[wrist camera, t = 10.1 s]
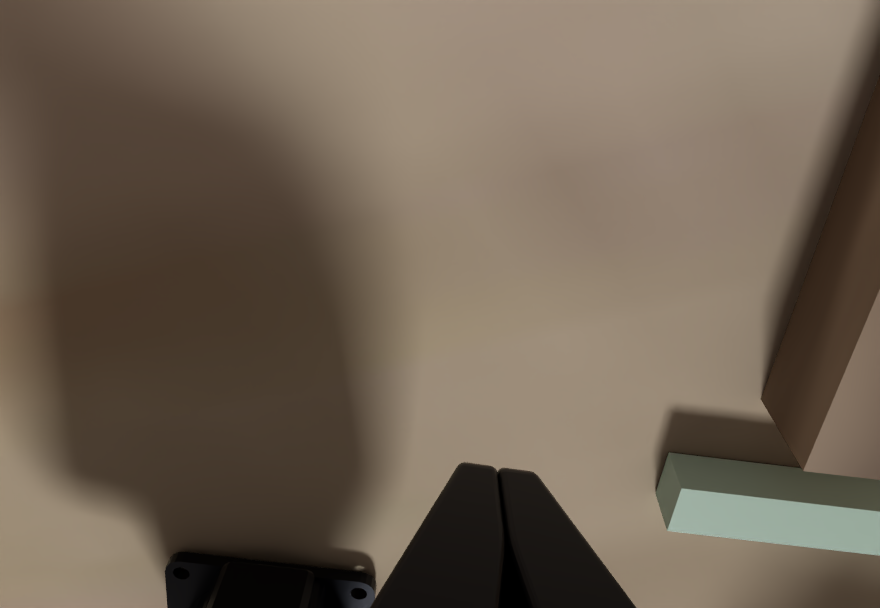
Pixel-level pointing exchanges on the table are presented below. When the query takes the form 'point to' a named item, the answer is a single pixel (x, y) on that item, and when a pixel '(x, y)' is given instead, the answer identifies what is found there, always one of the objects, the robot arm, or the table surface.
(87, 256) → the table surface
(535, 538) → the robot arm
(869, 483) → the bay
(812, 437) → the t block
